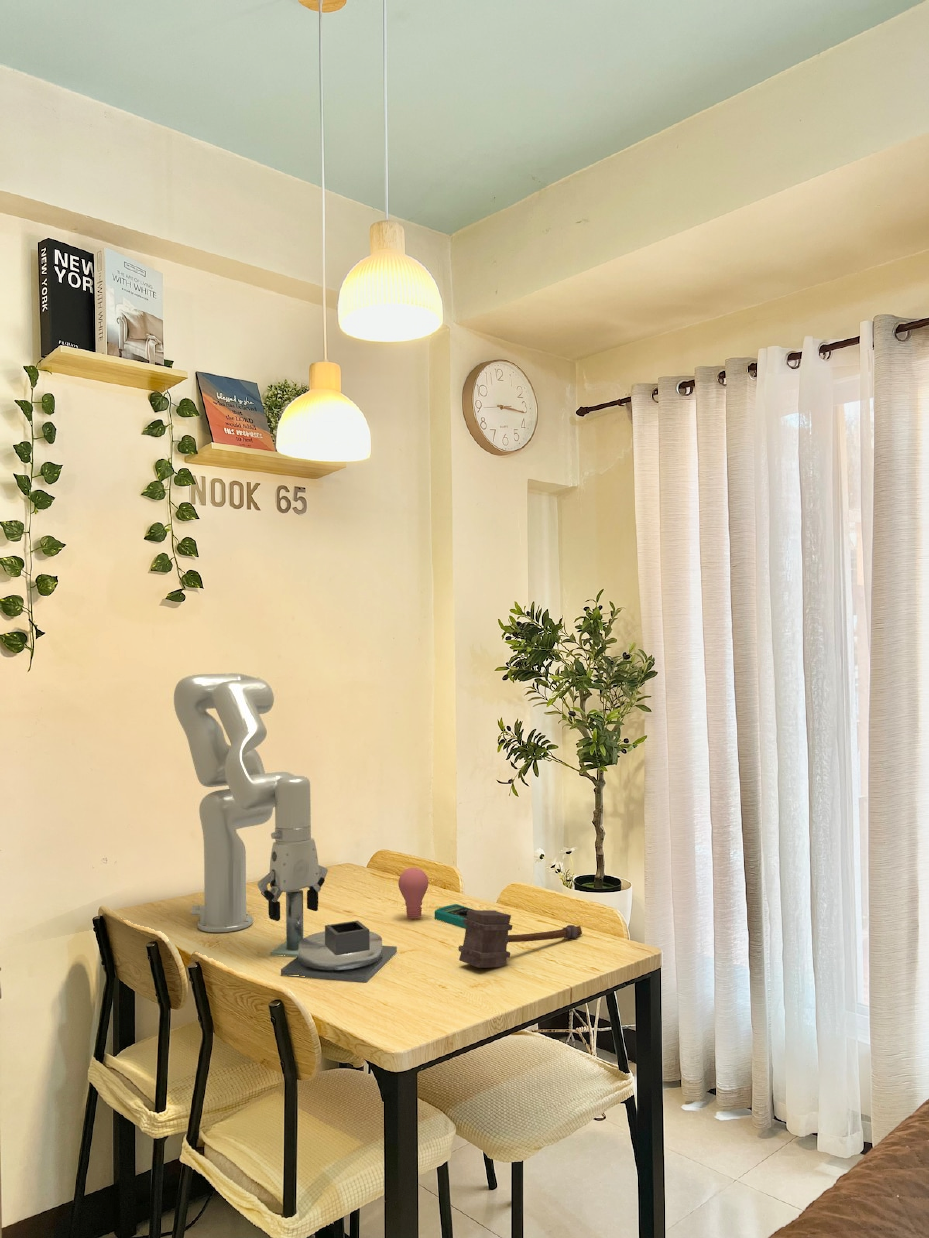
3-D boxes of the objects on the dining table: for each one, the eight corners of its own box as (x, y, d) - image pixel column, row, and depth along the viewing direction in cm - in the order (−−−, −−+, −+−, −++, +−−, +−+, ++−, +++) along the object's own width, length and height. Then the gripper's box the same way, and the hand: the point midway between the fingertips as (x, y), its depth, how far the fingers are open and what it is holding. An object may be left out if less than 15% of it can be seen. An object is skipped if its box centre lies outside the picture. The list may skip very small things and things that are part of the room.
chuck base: (280, 975, 181) (280, 969, 181) (318, 946, 199) (318, 940, 199) (366, 982, 177) (366, 975, 177) (396, 952, 194) (396, 946, 194)
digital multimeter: (475, 934, 207) (475, 921, 207) (433, 920, 218) (433, 907, 218) (498, 927, 212) (498, 914, 212) (456, 914, 223) (456, 902, 223)
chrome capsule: (291, 951, 194) (290, 894, 194) (283, 947, 196) (282, 891, 197) (306, 948, 196) (306, 891, 196) (298, 944, 199) (297, 888, 199)
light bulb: (411, 924, 213) (410, 873, 214) (392, 918, 219) (392, 867, 219) (434, 918, 218) (434, 867, 218) (416, 912, 223) (415, 863, 224)
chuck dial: (312, 975, 176) (312, 939, 177) (289, 950, 192) (288, 917, 192) (394, 961, 184) (394, 926, 184) (365, 937, 199) (365, 906, 199)
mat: (269, 954, 194) (269, 952, 194) (285, 943, 201) (285, 940, 201) (303, 957, 192) (303, 954, 192) (317, 945, 199) (317, 943, 199)
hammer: (455, 959, 185) (462, 908, 186) (565, 955, 205) (570, 909, 207) (478, 968, 180) (484, 915, 181) (588, 963, 200) (593, 916, 202)
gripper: (268, 843, 188) (269, 927, 188) (336, 830, 201) (336, 909, 200) (248, 838, 194) (249, 920, 193) (315, 826, 206) (316, 903, 205)
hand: (293, 914), depth 197 cm, fingers open, 9 cm apart
